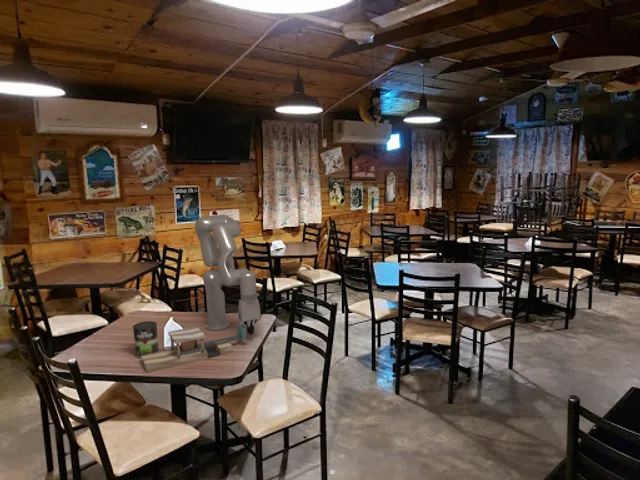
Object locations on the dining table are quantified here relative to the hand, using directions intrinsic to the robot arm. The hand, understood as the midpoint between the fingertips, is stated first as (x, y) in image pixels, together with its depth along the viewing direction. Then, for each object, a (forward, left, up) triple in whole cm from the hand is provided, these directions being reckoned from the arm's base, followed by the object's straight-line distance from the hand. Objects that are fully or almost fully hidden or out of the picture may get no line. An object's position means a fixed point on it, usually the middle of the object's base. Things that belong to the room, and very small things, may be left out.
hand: (250, 333), depth 220 cm
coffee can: (-15, -46, -5) cm, 48 cm away
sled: (0, -19, -1) cm, 19 cm away
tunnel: (0, -31, -5) cm, 31 cm away
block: (0, -31, -2) cm, 31 cm away
